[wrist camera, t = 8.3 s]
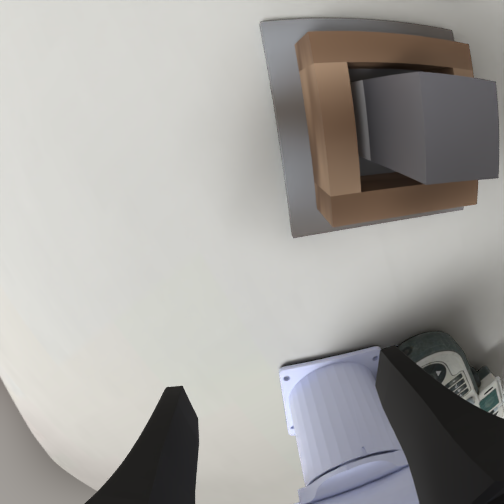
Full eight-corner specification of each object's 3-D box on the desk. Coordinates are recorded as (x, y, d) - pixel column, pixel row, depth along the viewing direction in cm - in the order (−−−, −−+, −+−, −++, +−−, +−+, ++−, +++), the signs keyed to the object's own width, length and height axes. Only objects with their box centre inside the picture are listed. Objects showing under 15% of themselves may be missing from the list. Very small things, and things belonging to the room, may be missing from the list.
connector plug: (416, 150, 16) (498, 178, 10) (355, 154, 16) (425, 184, 10) (411, 83, 15) (495, 81, 8) (347, 82, 15) (418, 71, 8)
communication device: (459, 285, 22) (524, 351, 14) (493, 394, 30) (523, 439, 22) (343, 374, 25) (376, 460, 16) (422, 447, 33) (444, 495, 25)
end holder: (459, 207, 18) (490, 225, 15) (291, 234, 19) (304, 261, 15) (447, 31, 13) (481, 24, 10) (259, 24, 14) (266, 3, 10)
